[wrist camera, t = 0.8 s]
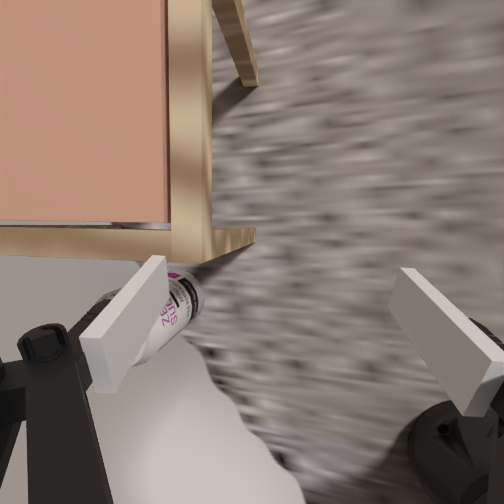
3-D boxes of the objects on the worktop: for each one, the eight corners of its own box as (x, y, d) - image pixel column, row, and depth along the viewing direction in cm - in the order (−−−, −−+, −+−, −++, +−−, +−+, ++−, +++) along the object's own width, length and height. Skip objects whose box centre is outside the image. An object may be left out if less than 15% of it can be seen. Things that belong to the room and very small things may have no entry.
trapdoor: (180, 222, 19) (163, 222, 17) (-24, 219, 22) (-64, 218, 20) (177, -55, 18) (158, -100, 15) (-45, -19, 21) (-91, -52, 18)
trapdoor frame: (255, 241, 38) (201, 263, 17) (110, 237, 42) (-86, 251, 21) (258, 70, 36) (200, -161, 14) (104, 82, 40) (-124, -87, 18)
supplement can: (147, 304, 42) (67, 346, 28) (169, 259, 41) (97, 278, 26) (191, 331, 41) (132, 389, 27) (215, 285, 40) (167, 321, 25)
